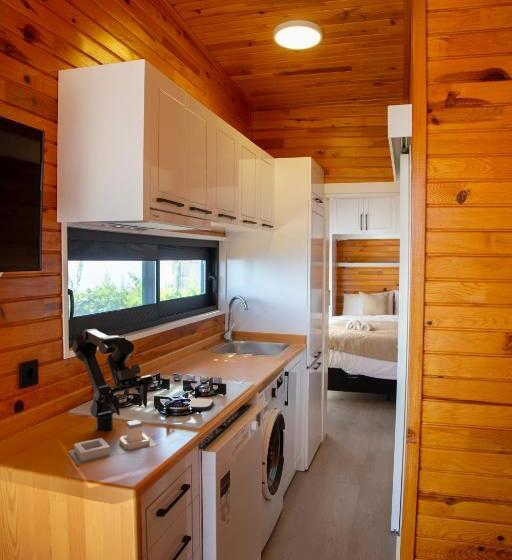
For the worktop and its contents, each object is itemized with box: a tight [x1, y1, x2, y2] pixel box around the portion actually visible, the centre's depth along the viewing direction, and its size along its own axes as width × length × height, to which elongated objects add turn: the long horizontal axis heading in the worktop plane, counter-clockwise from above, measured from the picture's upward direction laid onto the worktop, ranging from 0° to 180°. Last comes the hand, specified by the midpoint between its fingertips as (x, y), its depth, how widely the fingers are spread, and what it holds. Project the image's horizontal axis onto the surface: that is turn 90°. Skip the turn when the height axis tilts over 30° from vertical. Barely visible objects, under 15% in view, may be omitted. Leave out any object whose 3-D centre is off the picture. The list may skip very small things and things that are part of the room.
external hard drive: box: [187, 397, 214, 412], centre depth 207 cm, size 24×12×2 cm, turn 83°
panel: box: [67, 432, 159, 468], centre depth 161 cm, size 12×26×4 cm, turn 123°
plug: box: [125, 419, 143, 443], centre depth 165 cm, size 4×4×7 cm
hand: (132, 410), depth 160 cm, fingers open, 9 cm apart
